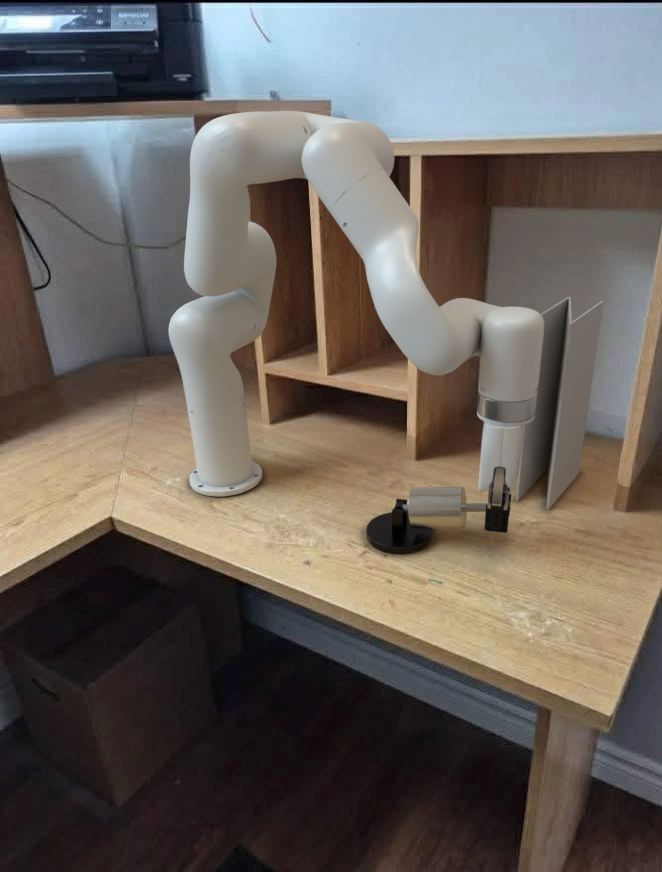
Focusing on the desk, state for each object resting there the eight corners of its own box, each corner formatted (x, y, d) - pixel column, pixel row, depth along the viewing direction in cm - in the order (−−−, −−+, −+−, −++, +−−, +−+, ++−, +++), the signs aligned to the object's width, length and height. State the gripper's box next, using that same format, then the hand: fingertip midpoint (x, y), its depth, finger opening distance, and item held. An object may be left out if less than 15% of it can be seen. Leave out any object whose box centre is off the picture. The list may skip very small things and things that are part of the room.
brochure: (548, 465, 122) (568, 296, 108) (578, 473, 120) (604, 300, 105) (515, 500, 112) (533, 318, 98) (548, 509, 110) (571, 323, 95)
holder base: (437, 521, 107) (438, 491, 105) (426, 558, 99) (427, 526, 96) (375, 514, 110) (374, 485, 107) (359, 549, 101) (358, 518, 99)
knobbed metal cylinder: (513, 514, 101) (510, 478, 98) (510, 536, 96) (507, 499, 93) (401, 515, 106) (395, 481, 103) (392, 536, 101) (387, 501, 98)
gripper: (483, 380, 98) (476, 492, 107) (470, 428, 84) (463, 552, 93) (538, 384, 96) (526, 497, 105) (533, 433, 82) (520, 559, 91)
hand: (497, 522), depth 99 cm, fingers closed on knobbed metal cylinder, 3 cm apart
